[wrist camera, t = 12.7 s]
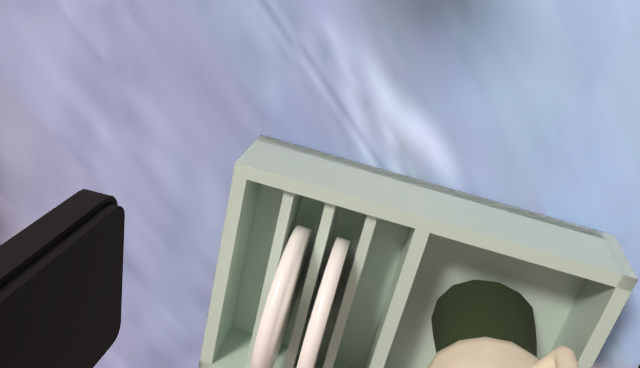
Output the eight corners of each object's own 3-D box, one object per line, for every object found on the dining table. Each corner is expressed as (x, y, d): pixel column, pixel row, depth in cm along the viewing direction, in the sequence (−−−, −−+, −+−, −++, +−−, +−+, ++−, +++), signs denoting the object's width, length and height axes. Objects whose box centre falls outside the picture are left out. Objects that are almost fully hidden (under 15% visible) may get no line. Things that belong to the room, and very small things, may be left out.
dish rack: (614, 235, 36) (638, 279, 31) (523, 419, 42) (532, 478, 37) (260, 134, 38) (235, 162, 33) (224, 324, 44) (198, 370, 39)
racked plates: (358, 215, 37) (332, 294, 29) (325, 330, 41) (295, 428, 33) (308, 201, 38) (270, 275, 30) (281, 316, 41) (239, 410, 33)
